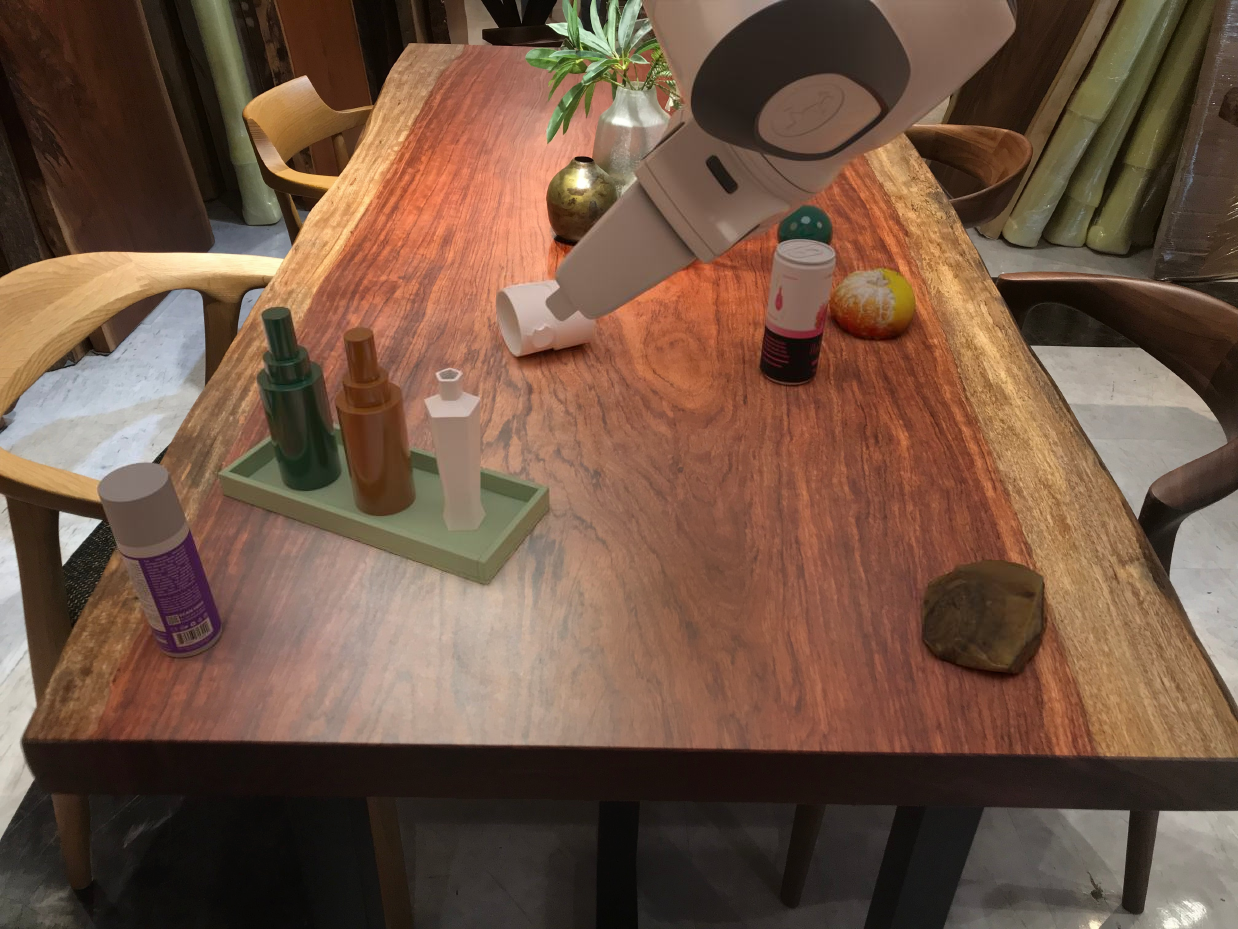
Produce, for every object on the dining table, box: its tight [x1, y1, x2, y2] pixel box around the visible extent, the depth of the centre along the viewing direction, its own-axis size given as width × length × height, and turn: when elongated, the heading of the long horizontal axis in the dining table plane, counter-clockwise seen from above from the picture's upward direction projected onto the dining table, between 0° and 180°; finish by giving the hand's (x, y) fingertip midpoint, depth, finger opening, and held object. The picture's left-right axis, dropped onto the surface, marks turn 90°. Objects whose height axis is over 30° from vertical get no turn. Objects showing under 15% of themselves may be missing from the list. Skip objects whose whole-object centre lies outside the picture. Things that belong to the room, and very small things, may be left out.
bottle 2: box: [334, 326, 416, 516], centre depth 78 cm, size 6×6×17 cm
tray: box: [217, 422, 551, 586], centre depth 83 cm, size 28×11×2 cm, turn 66°
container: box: [96, 462, 223, 659], centre depth 65 cm, size 5×5×15 cm
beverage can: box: [759, 239, 837, 386], centre depth 100 cm, size 7×7×15 cm
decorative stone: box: [920, 559, 1049, 674], centre depth 71 cm, size 10×9×4 cm
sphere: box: [776, 203, 834, 247], centre depth 129 cm, size 8×8×8 cm
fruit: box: [828, 267, 917, 341], centre depth 113 cm, size 11×10×8 cm
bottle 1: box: [256, 306, 342, 491], centre depth 81 cm, size 6×6×17 cm
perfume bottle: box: [424, 367, 486, 531], centre depth 76 cm, size 5×4×15 cm
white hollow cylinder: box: [495, 279, 596, 358], centre depth 107 cm, size 12×9×8 cm
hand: (588, 280), depth 61 cm, fingers open, 8 cm apart
